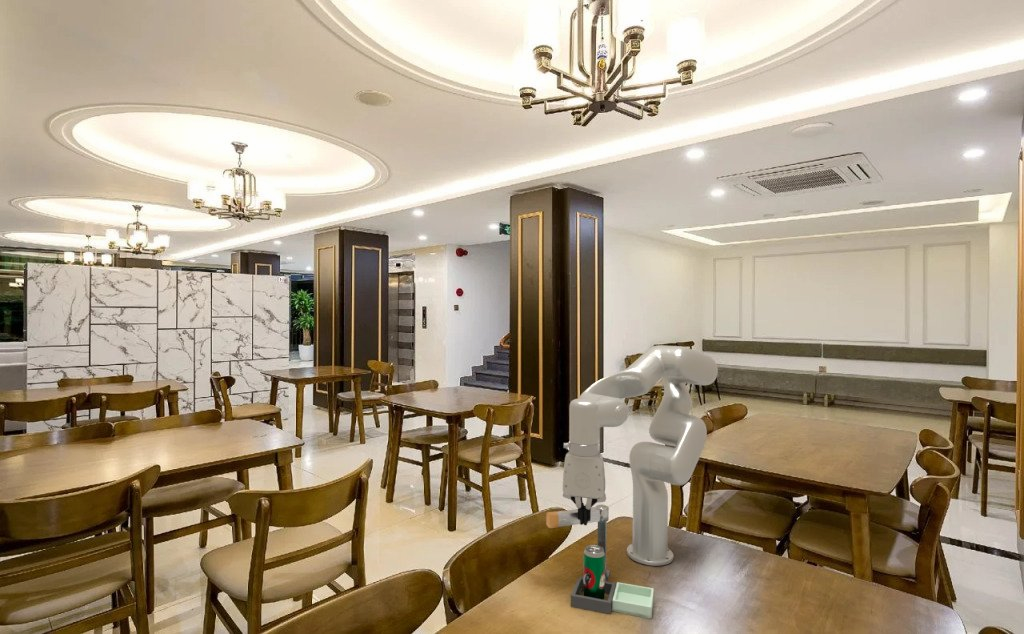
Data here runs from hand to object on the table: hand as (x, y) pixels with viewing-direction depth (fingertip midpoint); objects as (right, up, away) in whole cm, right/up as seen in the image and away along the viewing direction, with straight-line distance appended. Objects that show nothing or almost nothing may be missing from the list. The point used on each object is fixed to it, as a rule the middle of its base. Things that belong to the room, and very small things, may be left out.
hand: (584, 522), depth 124 cm
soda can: (+1, -16, -7) cm, 17 cm away
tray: (+10, -16, -9) cm, 20 cm away
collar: (+1, -15, -7) cm, 17 cm away
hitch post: (+4, -16, +2) cm, 16 cm away
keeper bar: (-1, -1, +3) cm, 3 cm away
